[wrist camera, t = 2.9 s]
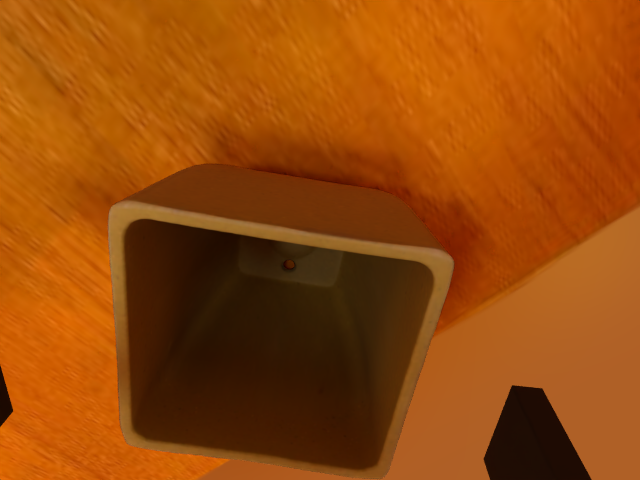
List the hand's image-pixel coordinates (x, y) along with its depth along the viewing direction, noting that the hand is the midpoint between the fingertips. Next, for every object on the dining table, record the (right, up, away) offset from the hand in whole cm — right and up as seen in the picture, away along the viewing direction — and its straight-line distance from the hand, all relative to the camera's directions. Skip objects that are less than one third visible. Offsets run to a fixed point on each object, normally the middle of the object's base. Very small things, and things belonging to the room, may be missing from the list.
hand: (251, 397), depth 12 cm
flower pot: (+1, +5, +9) cm, 10 cm away
